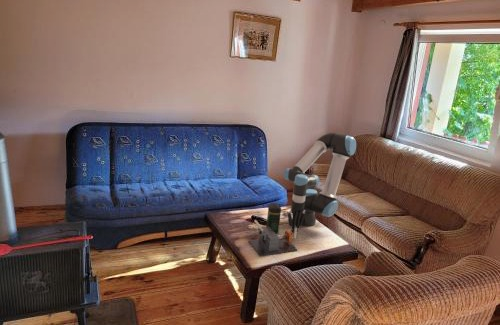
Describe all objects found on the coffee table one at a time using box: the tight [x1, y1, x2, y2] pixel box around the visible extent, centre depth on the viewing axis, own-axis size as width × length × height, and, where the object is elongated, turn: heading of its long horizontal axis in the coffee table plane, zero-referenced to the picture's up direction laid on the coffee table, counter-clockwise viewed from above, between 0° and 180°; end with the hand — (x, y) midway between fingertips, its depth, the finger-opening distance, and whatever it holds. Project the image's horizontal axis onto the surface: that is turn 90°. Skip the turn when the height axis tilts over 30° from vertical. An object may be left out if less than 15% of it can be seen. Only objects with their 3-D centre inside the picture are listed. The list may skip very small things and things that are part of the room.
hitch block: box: [248, 226, 298, 258], centre depth 209 cm, size 24×17×12 cm
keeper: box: [254, 219, 265, 234], centre depth 203 cm, size 10×6×1 cm
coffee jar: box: [265, 202, 282, 235], centre depth 226 cm, size 10×8×19 cm
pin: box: [277, 229, 293, 244], centre depth 210 cm, size 15×6×6 cm, turn 113°
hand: (293, 236), depth 214 cm, fingers closed
